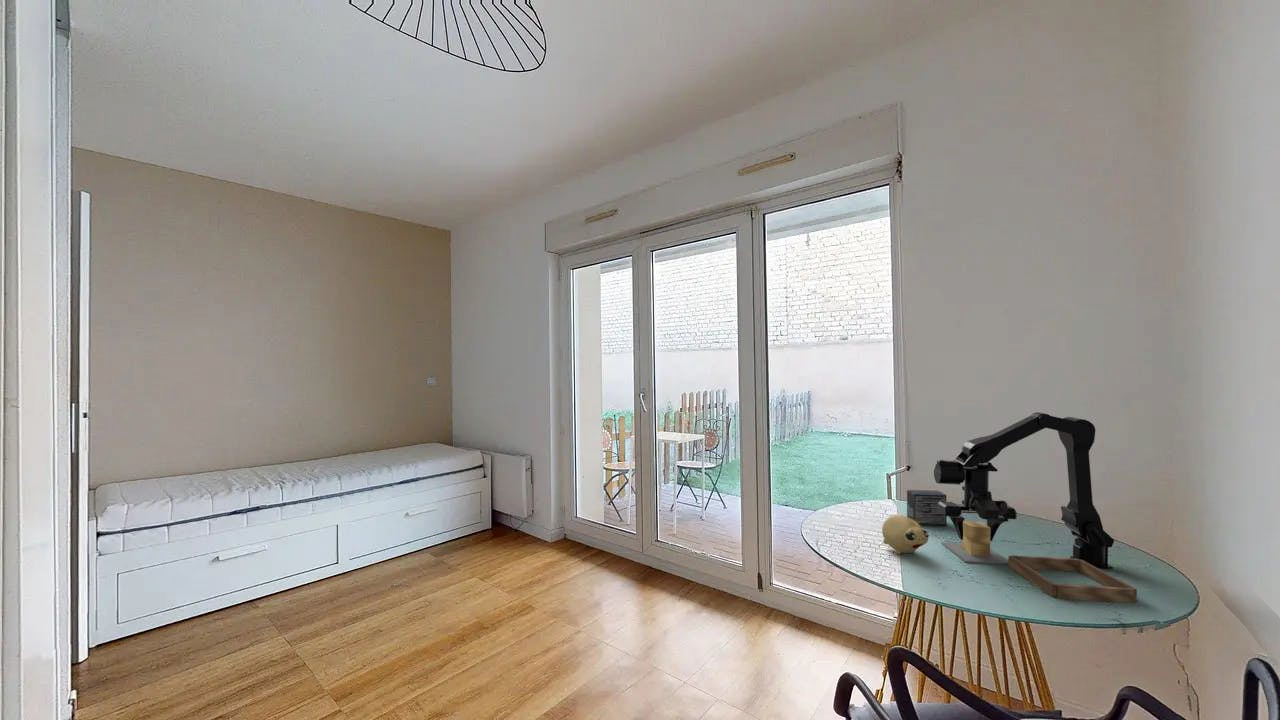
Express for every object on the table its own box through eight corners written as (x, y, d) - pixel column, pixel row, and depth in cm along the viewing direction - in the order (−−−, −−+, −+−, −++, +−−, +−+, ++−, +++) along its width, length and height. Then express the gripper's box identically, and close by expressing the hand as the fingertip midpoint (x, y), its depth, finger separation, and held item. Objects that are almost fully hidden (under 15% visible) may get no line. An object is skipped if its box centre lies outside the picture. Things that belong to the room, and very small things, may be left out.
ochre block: (980, 549, 147) (980, 521, 147) (990, 556, 142) (990, 527, 142) (961, 548, 148) (962, 521, 148) (970, 555, 143) (971, 526, 143)
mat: (984, 545, 152) (984, 544, 151) (1012, 565, 138) (1012, 563, 138) (941, 543, 153) (941, 542, 153) (965, 562, 139) (965, 560, 139)
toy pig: (907, 563, 138) (907, 524, 138) (874, 547, 150) (875, 511, 150) (935, 559, 141) (936, 521, 141) (901, 543, 153) (902, 508, 153)
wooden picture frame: (1080, 570, 135) (1080, 558, 135) (1138, 603, 117) (1138, 590, 117) (1007, 566, 137) (1007, 555, 137) (1053, 598, 119) (1053, 585, 119)
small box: (937, 520, 175) (938, 489, 175) (947, 526, 169) (947, 495, 168) (905, 519, 176) (906, 488, 176) (914, 525, 170) (914, 493, 169)
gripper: (955, 491, 138) (954, 549, 138) (1029, 494, 136) (1029, 552, 136) (936, 481, 149) (935, 534, 149) (1005, 484, 147) (1004, 537, 147)
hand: (975, 540), depth 145 cm, fingers open, 7 cm apart
